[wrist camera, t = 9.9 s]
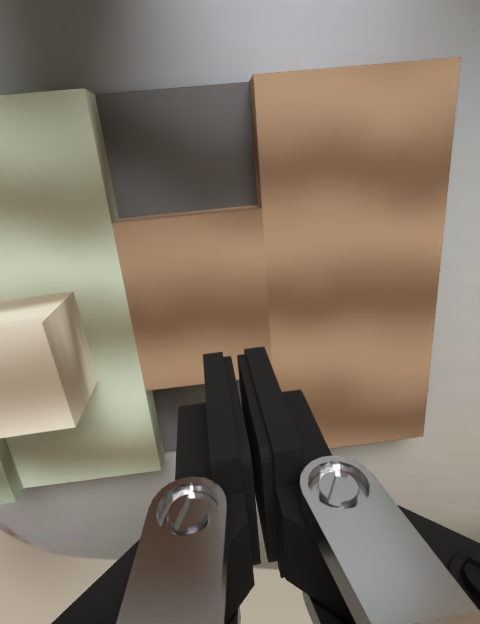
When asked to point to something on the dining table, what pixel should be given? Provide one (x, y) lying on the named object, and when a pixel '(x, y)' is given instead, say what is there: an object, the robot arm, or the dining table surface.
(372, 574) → the robot arm
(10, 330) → the block
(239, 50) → the dining table surface
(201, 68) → the dining table surface
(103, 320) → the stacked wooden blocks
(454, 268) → the dining table surface
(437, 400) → the dining table surface
